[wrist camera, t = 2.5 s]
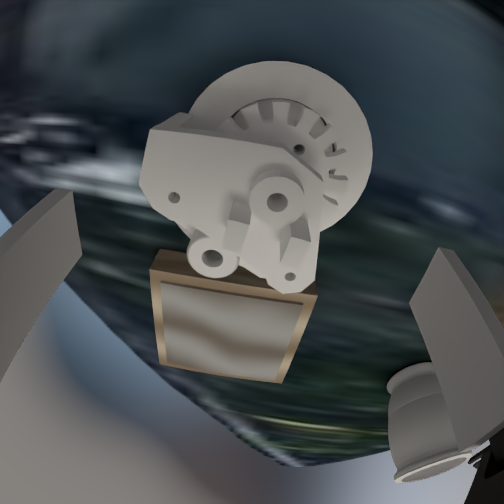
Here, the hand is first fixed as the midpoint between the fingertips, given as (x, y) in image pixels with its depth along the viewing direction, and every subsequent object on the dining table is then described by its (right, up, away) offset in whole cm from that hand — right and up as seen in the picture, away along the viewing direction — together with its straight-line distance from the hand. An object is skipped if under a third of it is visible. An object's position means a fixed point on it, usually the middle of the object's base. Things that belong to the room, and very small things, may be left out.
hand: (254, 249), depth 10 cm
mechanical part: (+1, +8, +11) cm, 14 cm away
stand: (-2, -6, +21) cm, 22 cm away
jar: (+23, -18, +27) cm, 40 cm away
